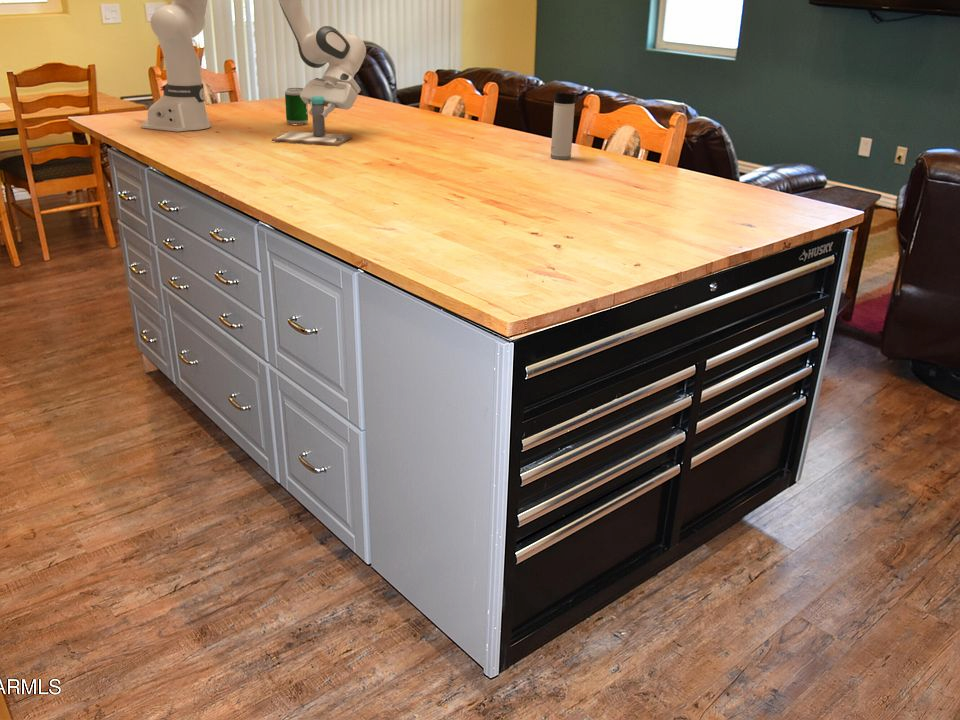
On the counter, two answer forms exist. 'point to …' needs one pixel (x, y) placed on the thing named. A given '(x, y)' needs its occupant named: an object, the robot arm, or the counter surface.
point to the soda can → (295, 107)
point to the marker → (318, 115)
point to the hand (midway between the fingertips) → (317, 115)
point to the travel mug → (562, 126)
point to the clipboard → (312, 138)
